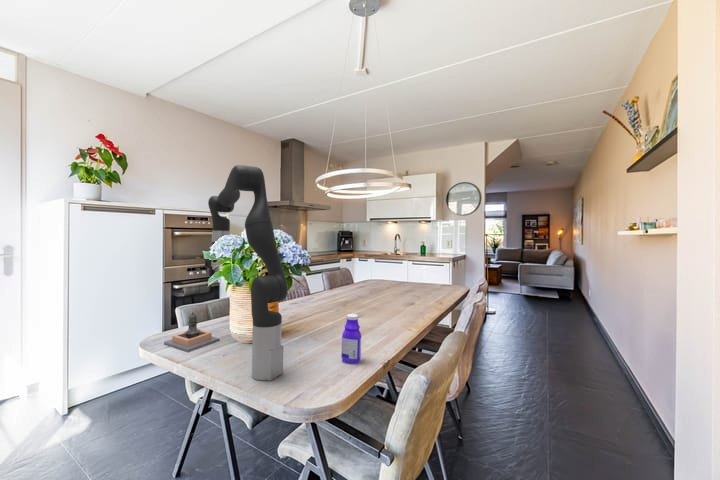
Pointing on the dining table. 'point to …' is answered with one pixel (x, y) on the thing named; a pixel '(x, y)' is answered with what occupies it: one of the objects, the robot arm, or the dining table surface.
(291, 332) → the dining table surface
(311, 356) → the dining table surface
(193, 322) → the dark grey upright piece
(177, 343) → the tray
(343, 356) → the bottle
